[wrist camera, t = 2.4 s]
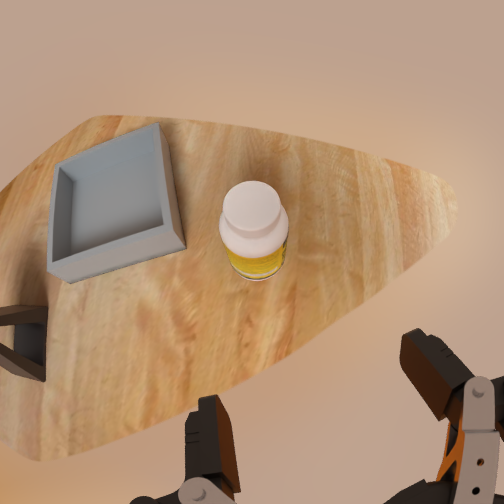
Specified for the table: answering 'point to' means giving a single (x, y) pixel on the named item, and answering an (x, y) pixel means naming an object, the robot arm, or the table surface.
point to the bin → (113, 207)
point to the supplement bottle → (254, 230)
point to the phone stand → (25, 341)
